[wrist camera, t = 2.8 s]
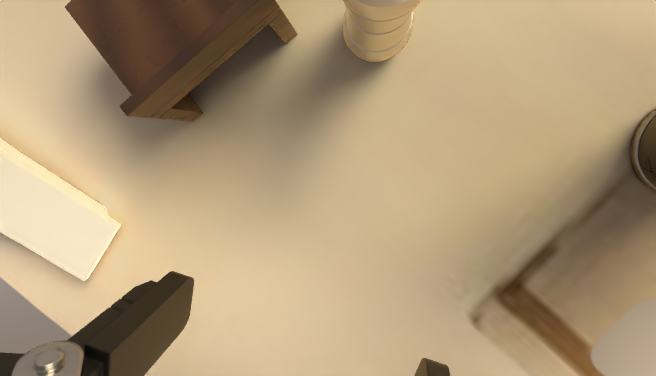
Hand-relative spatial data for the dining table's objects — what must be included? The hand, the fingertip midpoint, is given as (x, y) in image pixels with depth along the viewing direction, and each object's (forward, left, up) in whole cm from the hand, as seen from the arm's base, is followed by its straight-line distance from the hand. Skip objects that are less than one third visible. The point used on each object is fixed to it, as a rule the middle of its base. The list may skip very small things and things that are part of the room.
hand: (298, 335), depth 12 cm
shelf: (+1, -23, -27) cm, 36 cm away
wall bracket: (+31, -25, -27) cm, 48 cm away
